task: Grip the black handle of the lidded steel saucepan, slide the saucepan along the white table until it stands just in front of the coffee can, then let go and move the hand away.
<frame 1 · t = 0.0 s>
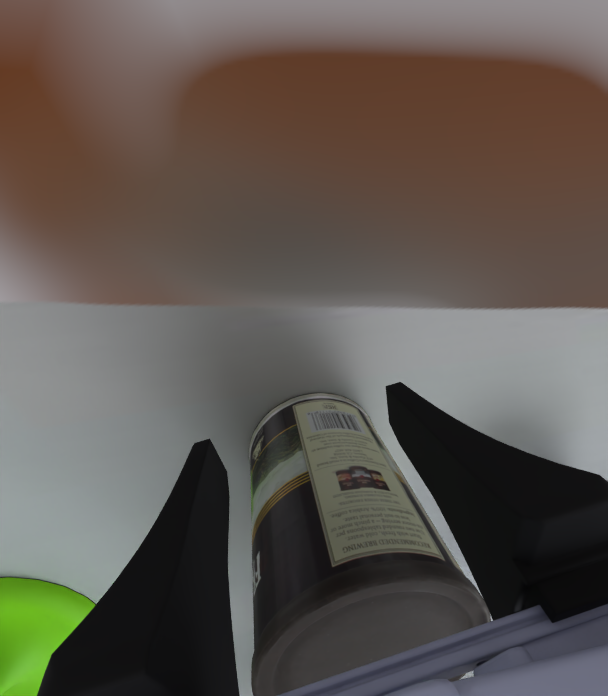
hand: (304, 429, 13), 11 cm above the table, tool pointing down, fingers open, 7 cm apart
wineglass: (13, 639, 29), on the table
coffee can: (313, 447, 27), on the table
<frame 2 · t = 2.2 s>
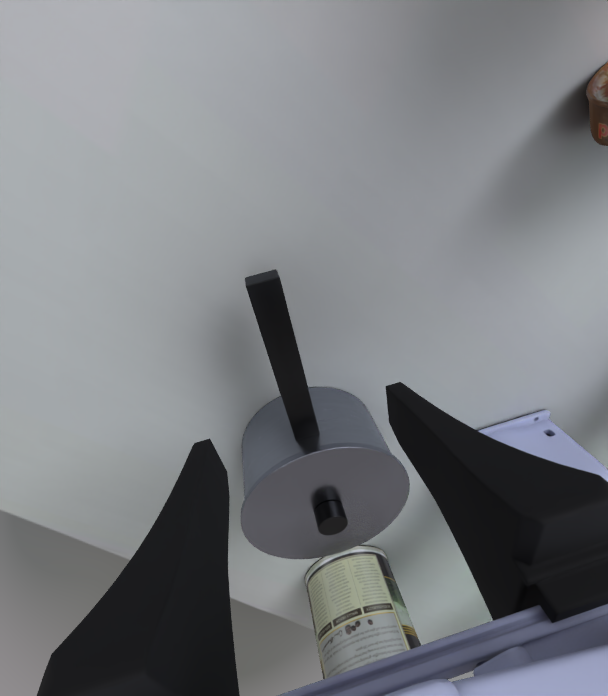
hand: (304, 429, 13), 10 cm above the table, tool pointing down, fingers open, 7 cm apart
coffee can: (345, 568, 41), on the table
saucepan: (308, 440, 28), on the table
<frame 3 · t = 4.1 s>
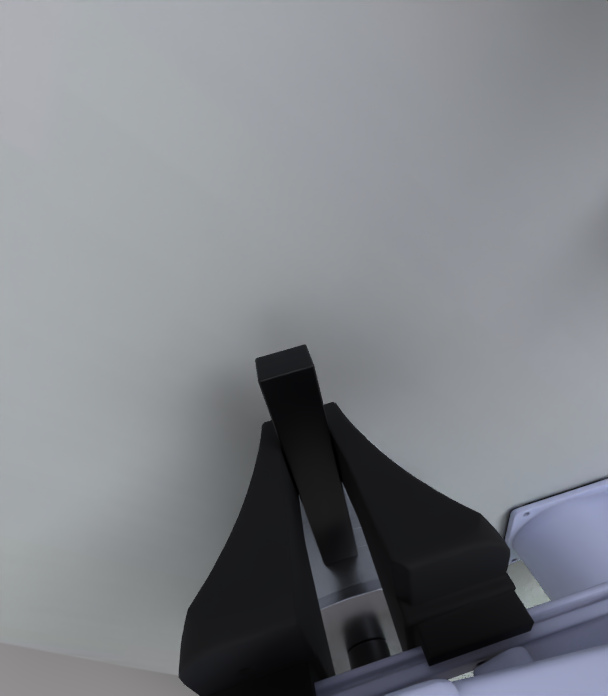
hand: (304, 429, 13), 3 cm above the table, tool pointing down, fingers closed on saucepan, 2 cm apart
saucepan: (332, 524, 22), on the table, touching gripper
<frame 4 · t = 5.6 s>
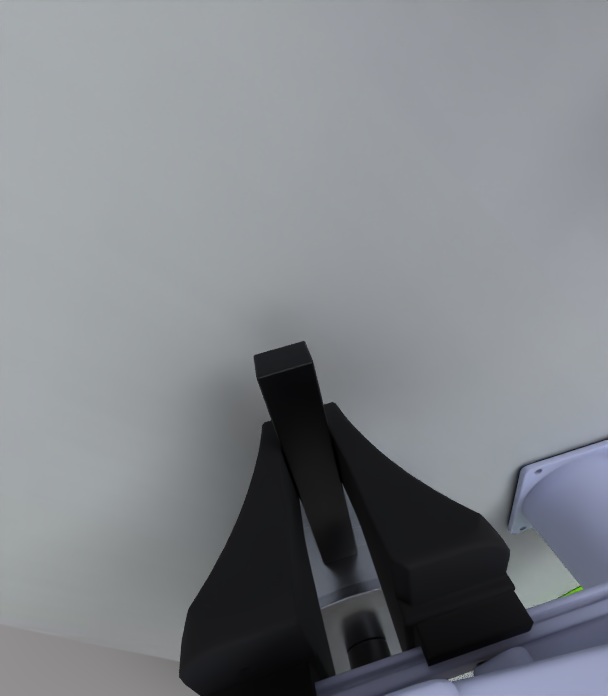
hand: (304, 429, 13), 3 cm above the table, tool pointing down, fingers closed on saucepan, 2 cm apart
saucepan: (331, 523, 22), on the table, touching gripper
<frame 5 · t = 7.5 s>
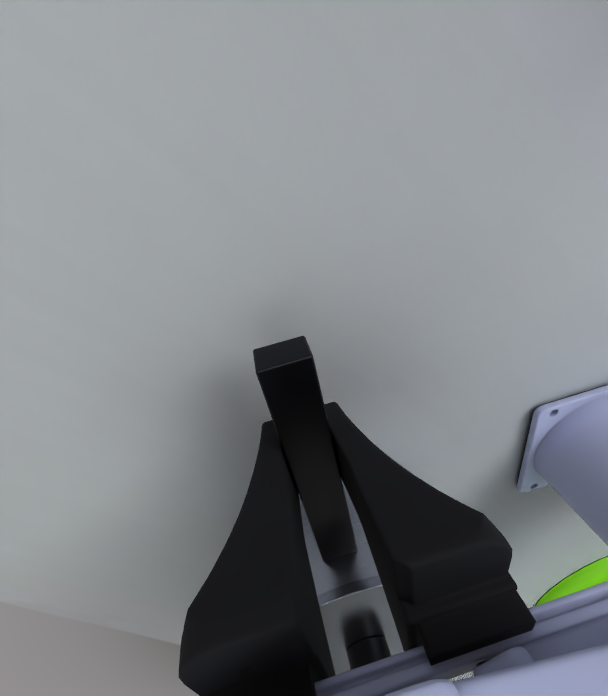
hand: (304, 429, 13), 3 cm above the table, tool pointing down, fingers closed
wineglass: (595, 585, 39), on the table
saucepan: (331, 521, 22), on the table
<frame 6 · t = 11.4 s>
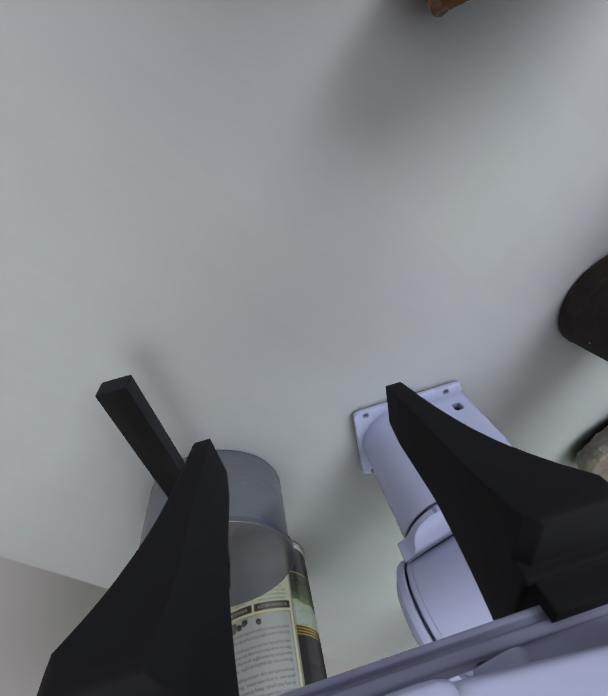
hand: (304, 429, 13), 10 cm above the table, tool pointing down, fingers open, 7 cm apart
coffee can: (257, 562, 37), on the table
saucepan: (217, 494, 30), on the table
container: (604, 294, 27), on the table
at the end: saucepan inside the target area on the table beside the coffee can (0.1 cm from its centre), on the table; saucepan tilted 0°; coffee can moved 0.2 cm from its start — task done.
